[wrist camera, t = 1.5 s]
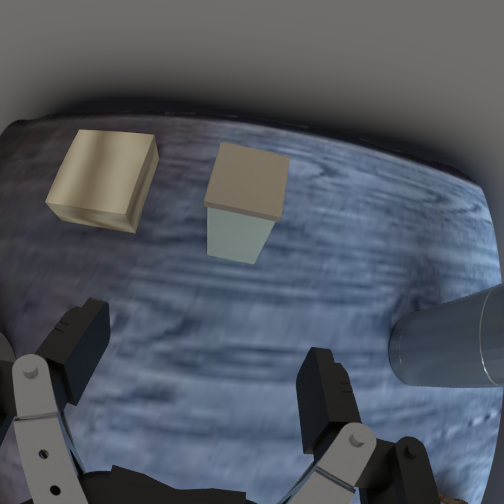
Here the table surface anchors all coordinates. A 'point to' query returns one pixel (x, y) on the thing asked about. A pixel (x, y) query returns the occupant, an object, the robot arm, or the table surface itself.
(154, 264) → the table surface
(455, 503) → the lion figurine
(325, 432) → the robot arm
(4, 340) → the coffee mug
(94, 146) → the maple block
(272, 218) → the sage canister
